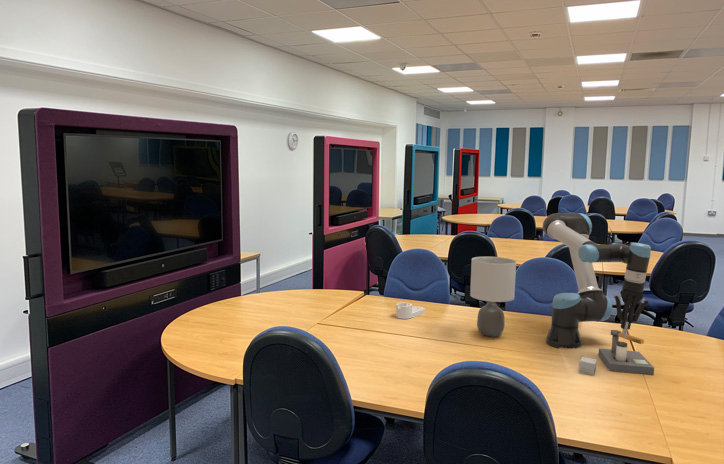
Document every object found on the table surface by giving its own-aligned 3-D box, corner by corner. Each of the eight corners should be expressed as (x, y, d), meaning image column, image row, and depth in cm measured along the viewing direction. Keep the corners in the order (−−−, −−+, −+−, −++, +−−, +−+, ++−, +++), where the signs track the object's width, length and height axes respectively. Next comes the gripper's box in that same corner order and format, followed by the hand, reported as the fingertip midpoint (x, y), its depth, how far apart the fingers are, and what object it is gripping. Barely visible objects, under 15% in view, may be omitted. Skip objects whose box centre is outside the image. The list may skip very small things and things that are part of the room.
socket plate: (609, 370, 199) (611, 346, 197) (598, 354, 216) (600, 332, 215) (653, 374, 195) (655, 349, 194) (638, 358, 213) (640, 335, 212)
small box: (594, 375, 194) (595, 363, 193) (578, 372, 197) (579, 360, 196) (596, 371, 199) (597, 359, 198) (580, 367, 202) (581, 356, 201)
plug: (616, 367, 202) (618, 344, 201) (613, 364, 206) (615, 341, 204) (626, 368, 201) (628, 345, 200) (623, 365, 205) (625, 341, 204)
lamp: (465, 337, 236) (468, 261, 232) (472, 325, 255) (475, 255, 251) (510, 343, 229) (514, 265, 224) (514, 330, 248) (518, 258, 243)
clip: (638, 344, 199) (639, 340, 199) (608, 334, 212) (608, 330, 212) (645, 343, 201) (645, 339, 201) (614, 332, 213) (615, 329, 213)
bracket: (405, 319, 264) (405, 307, 263) (392, 316, 270) (393, 304, 269) (427, 312, 279) (427, 300, 278) (414, 309, 284) (415, 298, 284)
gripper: (620, 280, 200) (609, 336, 203) (654, 285, 197) (643, 342, 200) (615, 276, 207) (605, 331, 210) (648, 281, 204) (637, 336, 207)
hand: (623, 336), depth 205 cm, fingers closed, pressing on clip
